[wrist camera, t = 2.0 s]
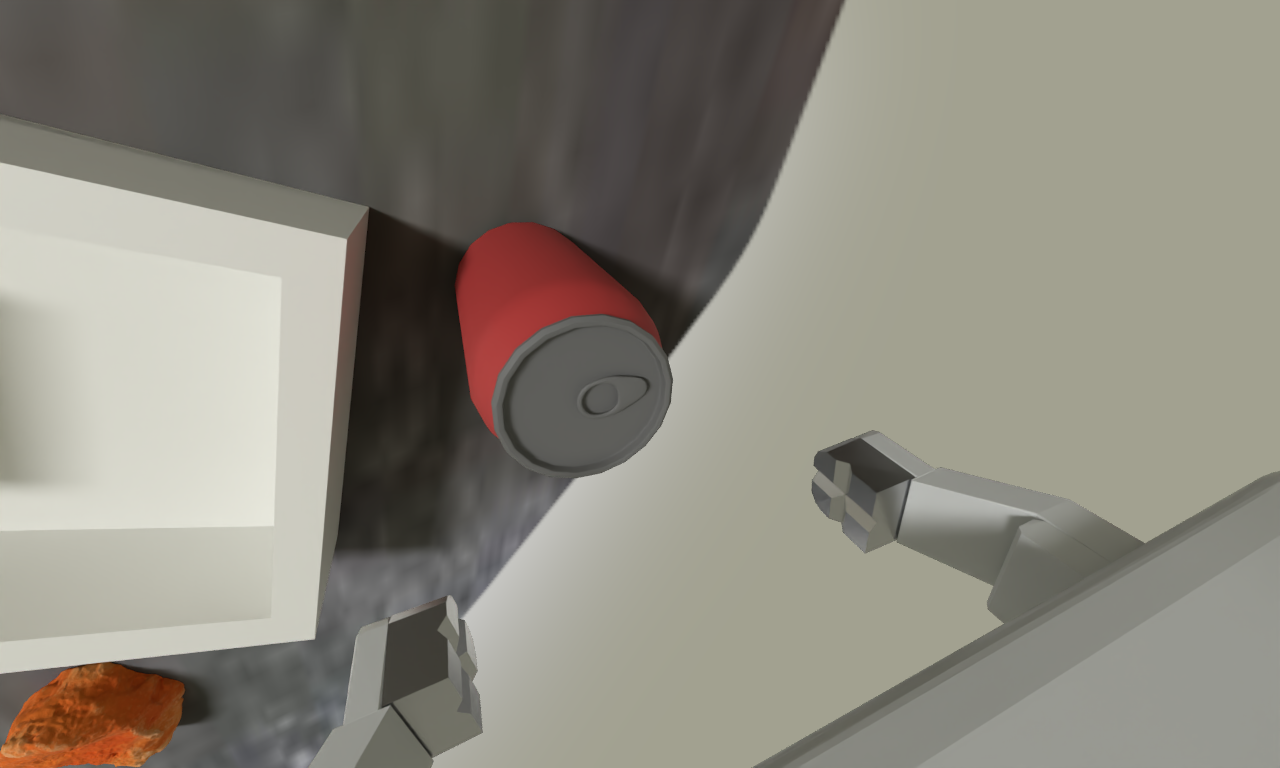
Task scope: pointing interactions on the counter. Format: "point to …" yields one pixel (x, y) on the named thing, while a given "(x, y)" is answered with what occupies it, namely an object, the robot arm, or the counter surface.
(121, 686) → the rock
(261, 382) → the tray
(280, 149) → the counter surface
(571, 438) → the beer can
